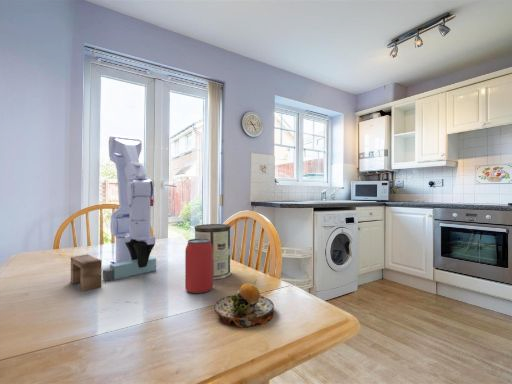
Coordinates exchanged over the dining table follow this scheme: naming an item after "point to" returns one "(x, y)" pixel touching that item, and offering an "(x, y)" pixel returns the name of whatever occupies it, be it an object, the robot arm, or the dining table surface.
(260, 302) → the plated food dish
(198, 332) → the dining table surface
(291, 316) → the dining table surface
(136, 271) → the light blue pillar
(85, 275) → the brown block
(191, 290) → the beer can
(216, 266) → the coffee can
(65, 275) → the dining table surface
